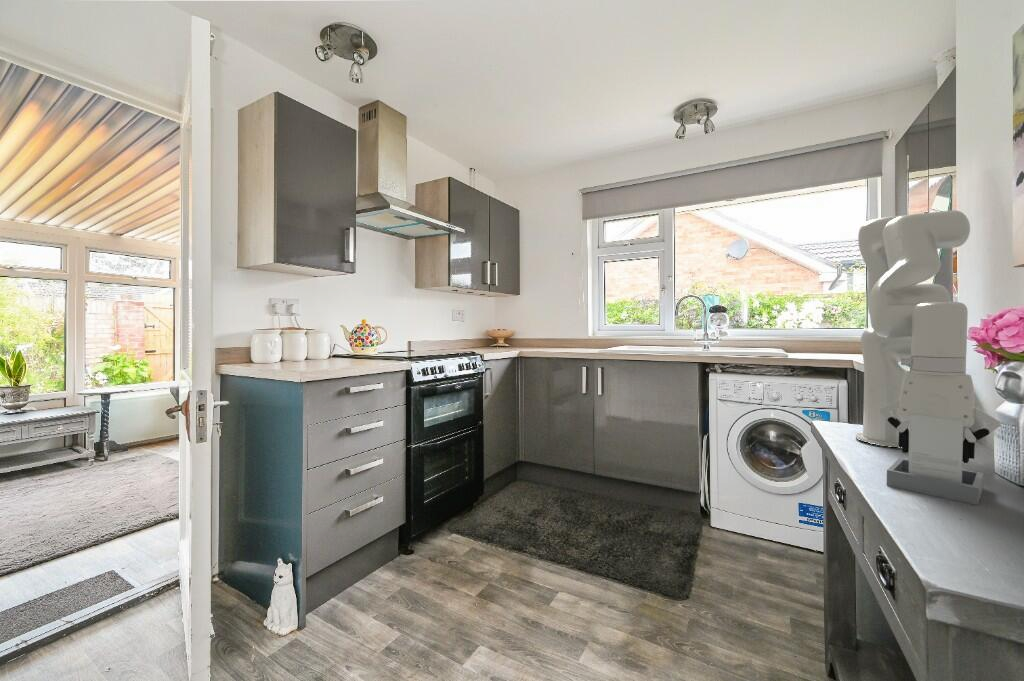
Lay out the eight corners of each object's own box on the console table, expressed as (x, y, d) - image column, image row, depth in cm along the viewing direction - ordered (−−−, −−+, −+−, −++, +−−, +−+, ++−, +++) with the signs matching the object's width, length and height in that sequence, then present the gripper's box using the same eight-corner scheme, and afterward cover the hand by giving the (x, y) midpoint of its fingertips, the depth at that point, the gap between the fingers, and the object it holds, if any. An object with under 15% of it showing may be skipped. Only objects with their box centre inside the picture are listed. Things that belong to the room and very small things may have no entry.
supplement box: (961, 478, 82) (963, 414, 82) (962, 488, 77) (964, 419, 77) (909, 469, 87) (910, 408, 87) (906, 478, 82) (908, 414, 82)
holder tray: (898, 472, 91) (899, 458, 91) (983, 488, 81) (983, 473, 81) (886, 485, 83) (886, 470, 83) (978, 505, 74) (978, 488, 74)
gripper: (874, 364, 86) (872, 449, 87) (1006, 371, 72) (1002, 472, 73) (882, 362, 91) (880, 443, 91) (1007, 368, 77) (1004, 463, 78)
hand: (934, 455), depth 82 cm, fingers closed on supplement box, 7 cm apart
